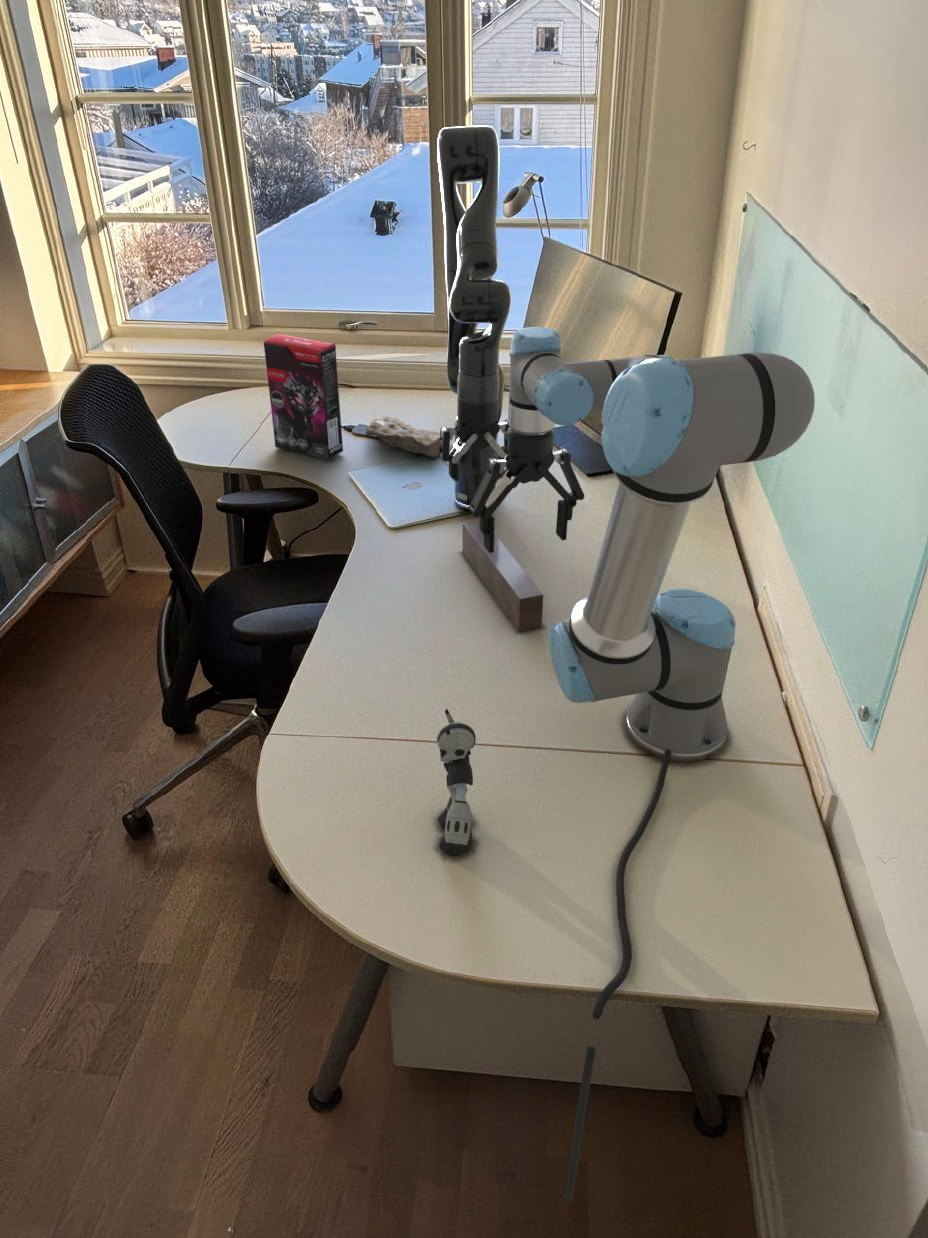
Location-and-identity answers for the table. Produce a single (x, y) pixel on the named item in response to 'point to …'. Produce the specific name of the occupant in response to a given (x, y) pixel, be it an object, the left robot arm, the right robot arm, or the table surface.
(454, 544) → the table surface
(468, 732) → the robot
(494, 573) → the beam
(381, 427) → the stone
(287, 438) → the graphics card box
